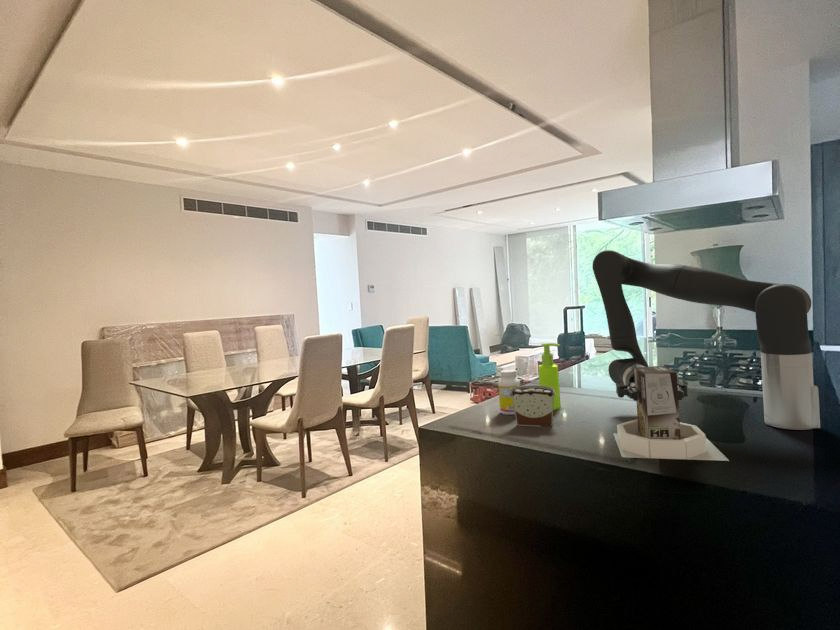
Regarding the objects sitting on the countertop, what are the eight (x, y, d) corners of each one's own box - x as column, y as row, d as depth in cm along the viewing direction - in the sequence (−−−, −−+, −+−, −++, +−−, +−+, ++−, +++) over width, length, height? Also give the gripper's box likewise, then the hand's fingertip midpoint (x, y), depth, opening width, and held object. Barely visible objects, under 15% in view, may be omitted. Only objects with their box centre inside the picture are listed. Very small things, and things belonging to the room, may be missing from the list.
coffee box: (683, 449, 90) (678, 372, 89) (648, 449, 91) (644, 373, 91) (668, 435, 99) (664, 365, 98) (637, 435, 100) (633, 366, 100)
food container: (561, 421, 120) (558, 385, 120) (558, 427, 114) (555, 389, 114) (516, 419, 125) (514, 384, 125) (511, 425, 120) (509, 389, 119)
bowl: (691, 434, 100) (690, 419, 100) (714, 460, 85) (713, 442, 85) (615, 433, 105) (614, 419, 105) (624, 457, 90) (623, 440, 90)
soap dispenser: (561, 410, 130) (556, 344, 130) (538, 409, 134) (534, 344, 134) (566, 406, 135) (561, 342, 135) (544, 404, 139) (539, 342, 138)
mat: (703, 436, 99) (703, 435, 99) (729, 462, 84) (729, 460, 84) (613, 435, 105) (613, 433, 105) (622, 458, 90) (622, 457, 90)
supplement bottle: (508, 408, 137) (505, 368, 137) (526, 411, 133) (523, 369, 132) (495, 413, 133) (492, 371, 132) (514, 416, 128) (510, 373, 128)
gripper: (609, 367, 111) (620, 379, 96) (671, 365, 107) (694, 377, 92) (611, 396, 111) (623, 413, 96) (673, 395, 107) (696, 413, 92)
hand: (657, 395), depth 94 cm, fingers open, 8 cm apart
